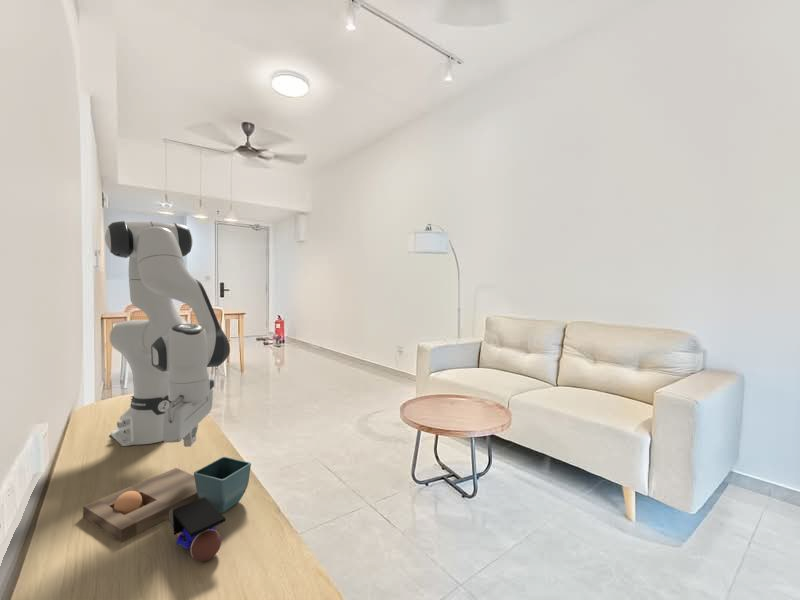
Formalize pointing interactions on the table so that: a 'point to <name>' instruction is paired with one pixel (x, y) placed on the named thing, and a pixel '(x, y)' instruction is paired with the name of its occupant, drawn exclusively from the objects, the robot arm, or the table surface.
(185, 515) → the figurine character
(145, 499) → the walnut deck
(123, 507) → the rubber ball
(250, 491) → the table surface
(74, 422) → the table surface
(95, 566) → the table surface
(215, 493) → the flower pot
